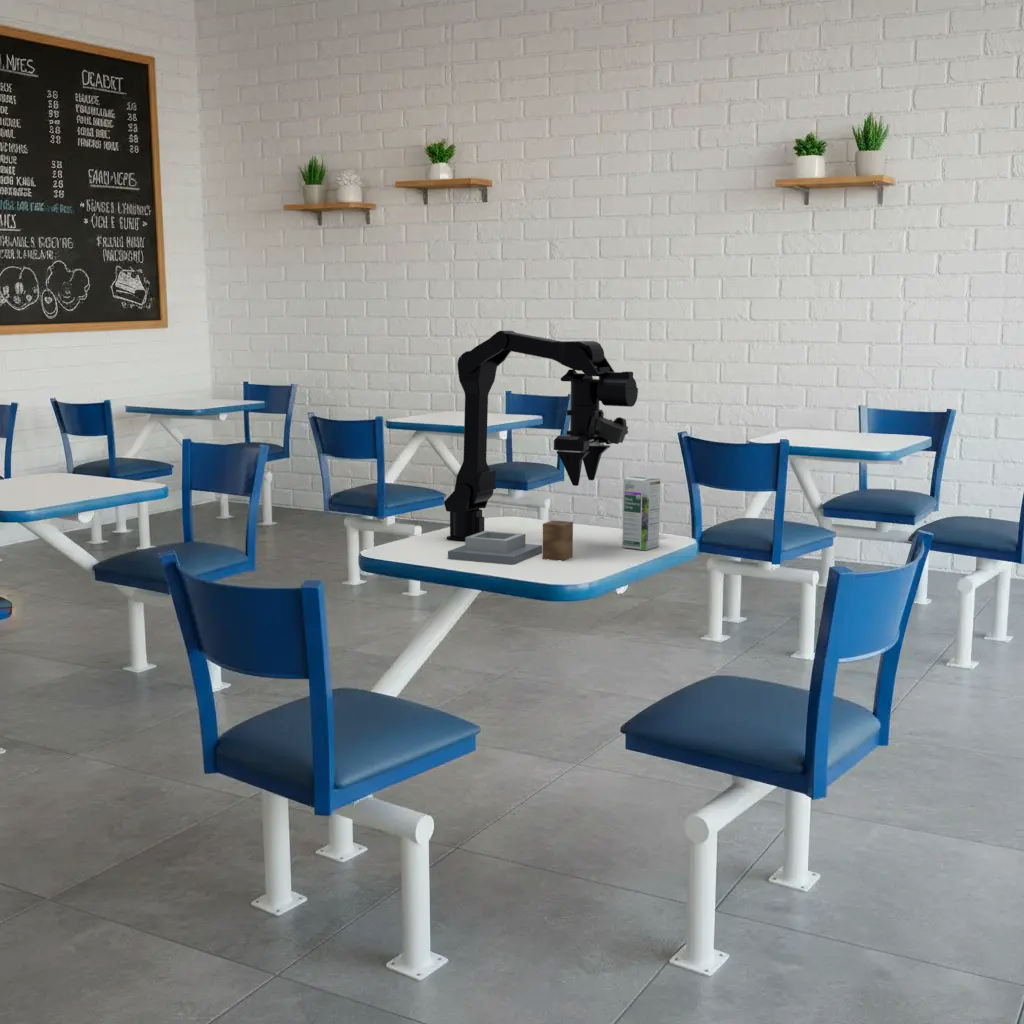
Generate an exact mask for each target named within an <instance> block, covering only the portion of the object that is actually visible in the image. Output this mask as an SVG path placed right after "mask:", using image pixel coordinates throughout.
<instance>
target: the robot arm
mask: <svg viewBox="0 0 1024 1024" xmlns="http://www.w3.org/2000/svg"><path fill="white" fill-rule="evenodd" d="M604 351H605V350H604V349H603V347H602V344H601V343H599V342H597V341H595V340H579V341H578V340H574V341H573V340H571V341H563V340H556V339H551V338H546V337H540V336H536V335H530V334H525V333H524V334H523V333H520V332H515V331H514V330H498V331H497V332H496V333H494V334H493V335H492V336H491V337H489V338H488V339H487V340H486V339H485V341H483V342H481V343H479V344H478V345H476V346H474V348H472V349H471V350H468V351H465V352H463V353H462V354H461V355H460V356H459V357H458V359H457V365H456V366H457V373H458V380H459V382H460V383H459V384H460V385H461V387H462V391H463V392H464V420H463V421H464V422H463V423H464V425H463V426H464V427H463V431H464V432H463V460H462V464H461V465H460V469H458V472H457V474H456V479H455V485H454V491H452V492H451V494H450V495H449V496H448V497H447V498H446V499H445V500H444V501H443V504H444V508H445V511H446V512H449V535H447V536H446V537H445V539H446V540H455V541H465V537H468V536H471V535H474V534H477V533H480V532H483V531H485V517H484V516H483V509H486V508H487V504H488V502H489V500H490V498H492V497H493V494H494V490H496V489H497V485H496V476H497V472H496V471H497V470H495V469H492V470H490V467H489V465H488V463H487V453H488V451H487V447H488V446H487V445H488V411H489V410H488V409H489V407H488V406H489V394H490V391H491V389H492V387H493V384H494V382H495V380H496V375H497V368H498V367H499V366H500V365H501V364H502V363H504V362H505V360H506V359H507V358H508V356H509V355H510V353H511V352H514V353H517V354H518V353H520V354H524V355H530V356H533V357H538V358H545V359H550V360H552V361H556V362H557V363H559V364H561V365H562V366H564V367H567V368H569V369H568V370H567V371H566V373H565V374H564V375H563V376H562V377H560V381H561V382H570V405H569V407H570V408H569V409H566V416H569V420H570V421H569V430H566V434H561V435H557V436H556V437H555V439H554V440H553V450H554V451H556V454H557V455H558V456H559V459H560V460H561V463H562V464H563V467H564V469H565V471H566V473H567V476H568V478H569V480H570V482H571V484H572V486H579V485H580V480H581V479H580V478H581V472H582V466H584V470H585V473H586V476H587V479H588V481H594V480H595V477H596V475H597V471H598V469H599V468H598V467H599V464H600V462H601V458H602V455H603V453H605V452H606V451H607V450H608V449H609V448H611V445H612V444H615V445H619V444H620V443H621V444H622V443H623V442H624V439H625V437H626V435H628V434H629V430H628V429H629V426H627V420H626V419H625V418H623V417H621V416H619V417H616V418H615V419H614V420H613V419H608V418H605V417H604V414H605V413H604V411H603V409H600V402H601V403H602V405H603V406H605V407H606V406H607V407H625V408H626V407H628V408H629V407H631V408H632V407H634V406H635V405H636V402H637V400H638V397H639V396H638V395H639V388H638V386H637V381H636V380H635V378H634V372H633V371H621V372H620V371H619V372H618V371H615V370H614V369H613V367H612V365H611V364H610V363H609V361H608V360H607V358H606V355H605V352H604ZM577 371H579V372H581V373H579V372H577ZM593 377H598V378H593Z"/></svg>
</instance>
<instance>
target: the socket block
mask: <svg viewBox="0 0 1024 1024" xmlns="http://www.w3.org/2000/svg"><path fill="white" fill-rule="evenodd" d="M464 543H465V544H464V545H461V546H459V547H456V548H453V549H451V550H448V551H447V559H448V560H457V561H458V560H459V561H468V562H469V561H470V562H481V563H490V562H491V563H493V564H501V563H502V564H503V565H512V564H514V565H516V564H518V563H520V561H521V562H524V561H525V559H526V560H528V559H529V558H532V557H535V556H537V555H540V554H543V544H534V543H533V544H532V543H526V533H519V532H508V531H494V530H484V531H483V532H480V533H477V534H474V535H471V536H468V537H465V540H464ZM527 558H528V559H527ZM491 563H490V564H491ZM502 564H501V565H502Z"/></svg>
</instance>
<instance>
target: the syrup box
mask: <svg viewBox="0 0 1024 1024" xmlns="http://www.w3.org/2000/svg"><path fill="white" fill-rule="evenodd" d="M622 489H623V493H622V496H623V498H622V499H623V500H622V502H623V503H622V507H623V509H622V537H621V539H622V541H621V546H622V549H633V550H641V551H647V550H648V551H649V550H651V549H655V548H658V547H659V545H660V543H659V542H660V538H659V537H660V509H661V508H660V507H661V506H660V505H661V501H660V500H661V477H660V478H659V477H648V476H636V475H632V476H627V477H624V478H623V488H622Z"/></svg>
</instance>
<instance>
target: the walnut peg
mask: <svg viewBox="0 0 1024 1024" xmlns="http://www.w3.org/2000/svg"><path fill="white" fill-rule="evenodd" d="M573 535H574V521H565V520H563V521H562V520H550V521H547V522H544V523H542V560H547V559H549V561H558V560H561V561H562V562H565V561H567V560H569V558H570V559H571V558H573V557H574V555H573V553H574V552H573V550H574V547H573V546H574V545H573V544H574V542H573V540H574V536H573Z"/></svg>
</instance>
